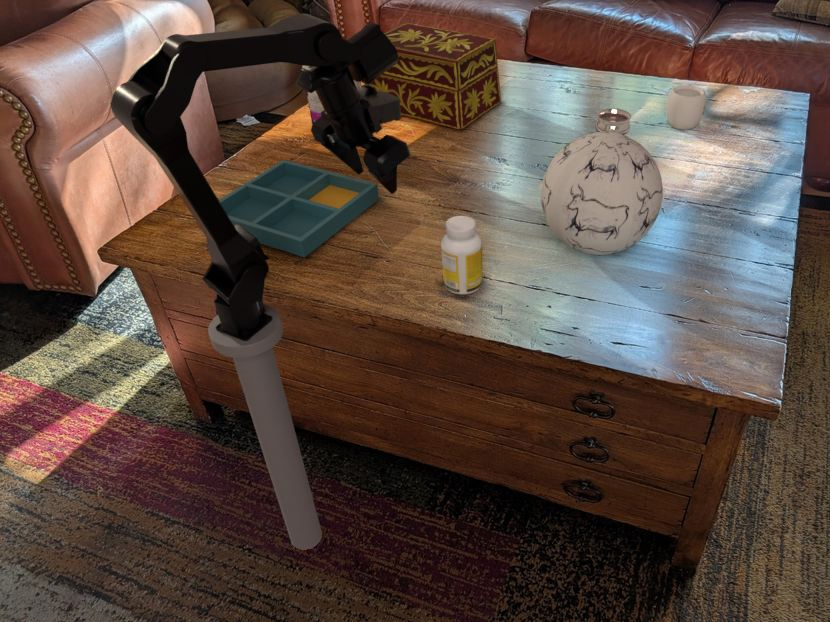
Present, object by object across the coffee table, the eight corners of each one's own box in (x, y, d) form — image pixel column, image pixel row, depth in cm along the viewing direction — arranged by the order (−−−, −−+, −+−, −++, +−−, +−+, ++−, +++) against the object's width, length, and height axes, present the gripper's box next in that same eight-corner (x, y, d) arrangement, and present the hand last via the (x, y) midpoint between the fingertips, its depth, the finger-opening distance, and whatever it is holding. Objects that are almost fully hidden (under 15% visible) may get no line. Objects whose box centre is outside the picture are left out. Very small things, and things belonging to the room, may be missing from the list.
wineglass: (631, 174, 147) (639, 117, 139) (604, 183, 145) (611, 125, 137) (610, 162, 152) (616, 105, 144) (584, 170, 149) (589, 113, 141)
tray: (304, 257, 126) (301, 241, 124) (206, 226, 134) (201, 210, 132) (379, 199, 141) (377, 183, 139) (286, 174, 149) (283, 159, 147)
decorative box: (364, 107, 175) (356, 42, 165) (409, 82, 187) (404, 20, 177) (460, 131, 164) (458, 63, 154) (501, 102, 176) (502, 38, 166)
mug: (695, 136, 161) (702, 101, 155) (658, 128, 164) (663, 94, 159) (710, 116, 168) (717, 82, 163) (674, 109, 172) (680, 76, 166)
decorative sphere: (677, 254, 125) (699, 144, 112) (587, 292, 117) (599, 178, 104) (602, 206, 138) (614, 102, 125) (516, 237, 130) (519, 130, 117)
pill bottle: (488, 277, 121) (487, 216, 113) (475, 299, 116) (473, 237, 109) (451, 270, 122) (448, 209, 115) (437, 292, 118) (433, 230, 110)
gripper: (420, 88, 105) (448, 172, 117) (346, 56, 115) (379, 137, 127) (362, 131, 101) (398, 214, 114) (291, 94, 112) (331, 174, 124)
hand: (377, 182), depth 120 cm, fingers open, 9 cm apart
